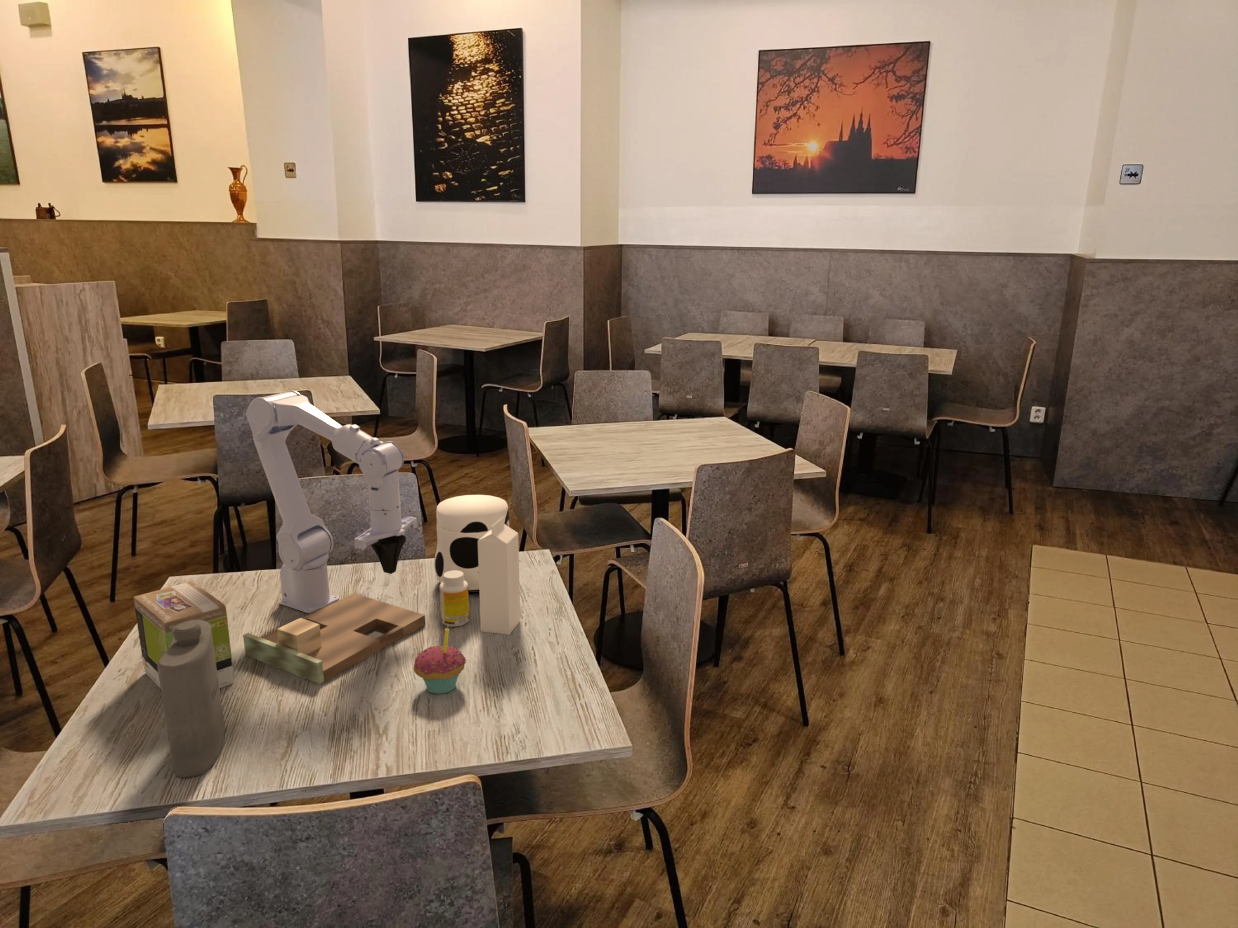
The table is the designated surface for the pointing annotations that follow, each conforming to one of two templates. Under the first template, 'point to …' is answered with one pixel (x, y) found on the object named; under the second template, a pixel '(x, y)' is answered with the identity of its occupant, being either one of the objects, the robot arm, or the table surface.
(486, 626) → the milk
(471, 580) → the milk container
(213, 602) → the tea box
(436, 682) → the cupcake
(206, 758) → the flask
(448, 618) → the supplement bottle
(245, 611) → the table surface
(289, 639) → the block
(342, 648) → the wooden board with holes
